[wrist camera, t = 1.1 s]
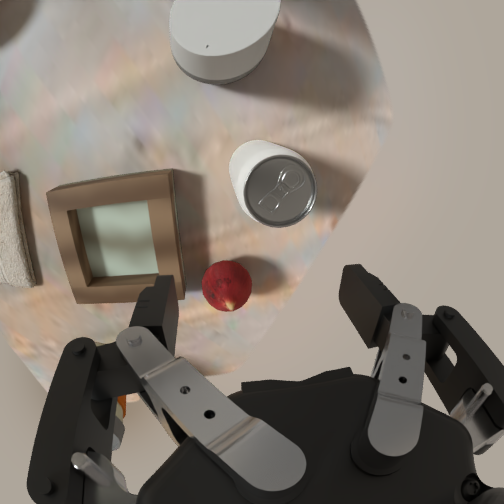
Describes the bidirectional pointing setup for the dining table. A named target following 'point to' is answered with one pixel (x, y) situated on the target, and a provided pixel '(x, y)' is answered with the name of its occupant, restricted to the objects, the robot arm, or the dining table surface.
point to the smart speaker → (221, 37)
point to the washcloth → (13, 236)
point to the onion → (226, 285)
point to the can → (272, 183)
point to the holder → (118, 235)
